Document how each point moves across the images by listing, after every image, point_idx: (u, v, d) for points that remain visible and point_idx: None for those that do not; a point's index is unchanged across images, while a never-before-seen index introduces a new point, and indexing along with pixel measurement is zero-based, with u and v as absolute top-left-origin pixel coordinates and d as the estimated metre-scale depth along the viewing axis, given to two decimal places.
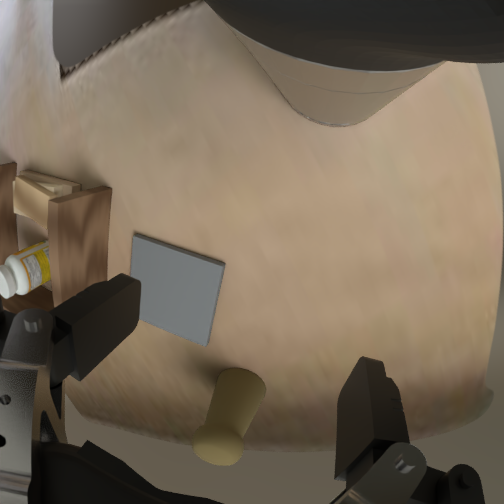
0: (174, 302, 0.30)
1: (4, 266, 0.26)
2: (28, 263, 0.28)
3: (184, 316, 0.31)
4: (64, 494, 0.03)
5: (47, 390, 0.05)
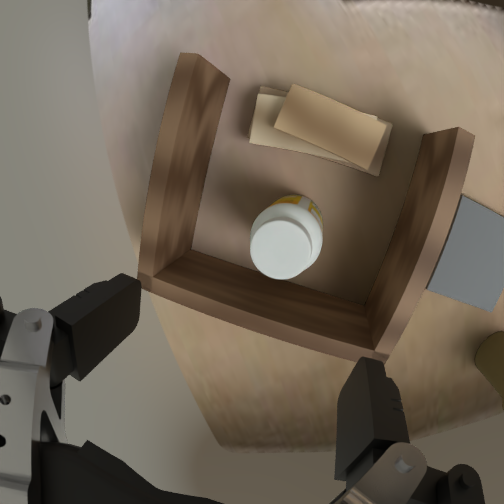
0: (483, 268, 0.24)
1: (291, 218, 0.19)
2: (318, 219, 0.22)
3: (486, 282, 0.24)
4: (64, 494, 0.03)
5: (47, 390, 0.05)
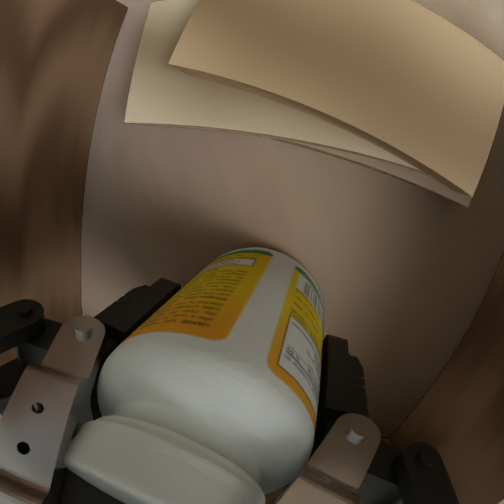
0: None
1: (171, 447, 0.04)
2: (306, 373, 0.06)
3: None
4: (64, 494, 0.03)
5: (87, 402, 0.05)
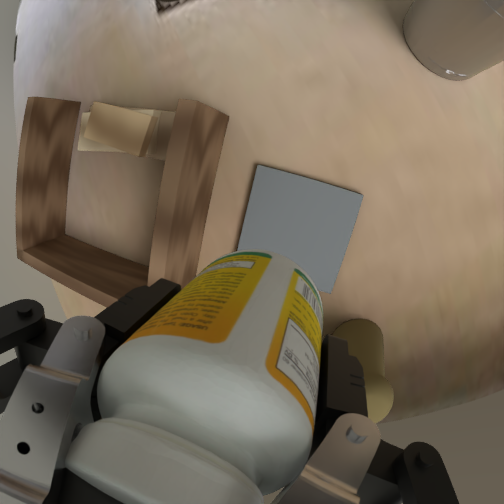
0: (301, 241, 0.28)
1: (170, 450, 0.04)
2: (304, 376, 0.06)
3: (311, 257, 0.28)
4: (64, 494, 0.03)
5: (87, 402, 0.05)
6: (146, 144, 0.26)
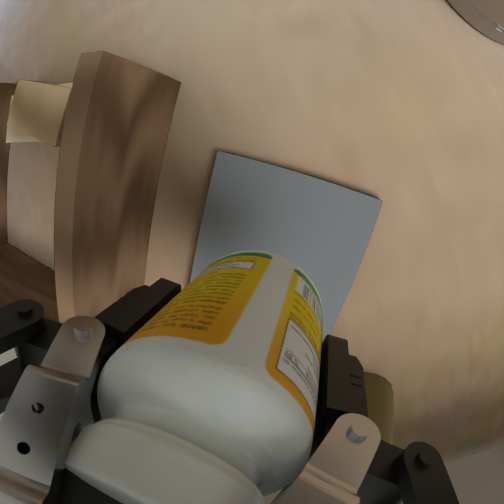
0: None
1: (170, 451, 0.04)
2: (304, 377, 0.06)
3: None
4: (64, 494, 0.03)
5: (87, 402, 0.05)
6: None
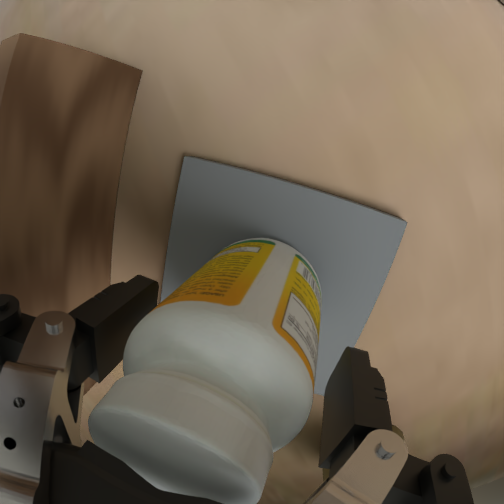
0: None
1: (195, 389, 0.05)
2: (305, 338, 0.07)
3: None
4: (64, 494, 0.03)
5: (64, 395, 0.05)
6: None
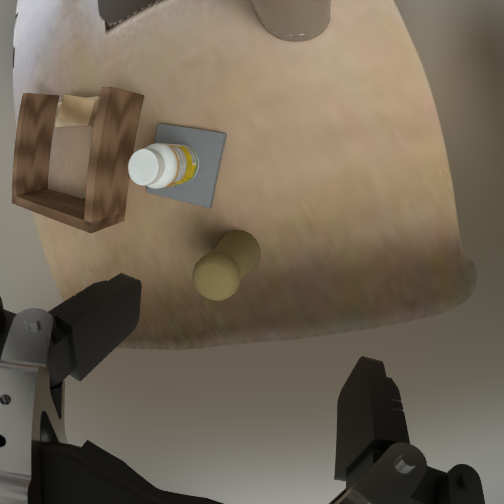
0: None
1: (150, 148, 0.29)
2: (177, 151, 0.32)
3: (193, 181, 0.38)
4: (64, 494, 0.03)
5: (47, 390, 0.05)
6: (93, 118, 0.36)
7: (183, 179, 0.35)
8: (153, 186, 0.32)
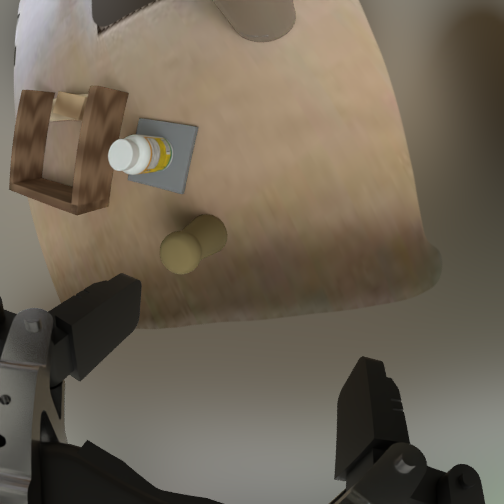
0: None
1: (127, 139, 0.33)
2: (151, 142, 0.35)
3: (167, 170, 0.42)
4: (64, 494, 0.03)
5: (47, 390, 0.05)
6: (83, 113, 0.39)
7: (157, 167, 0.38)
8: (129, 172, 0.35)
